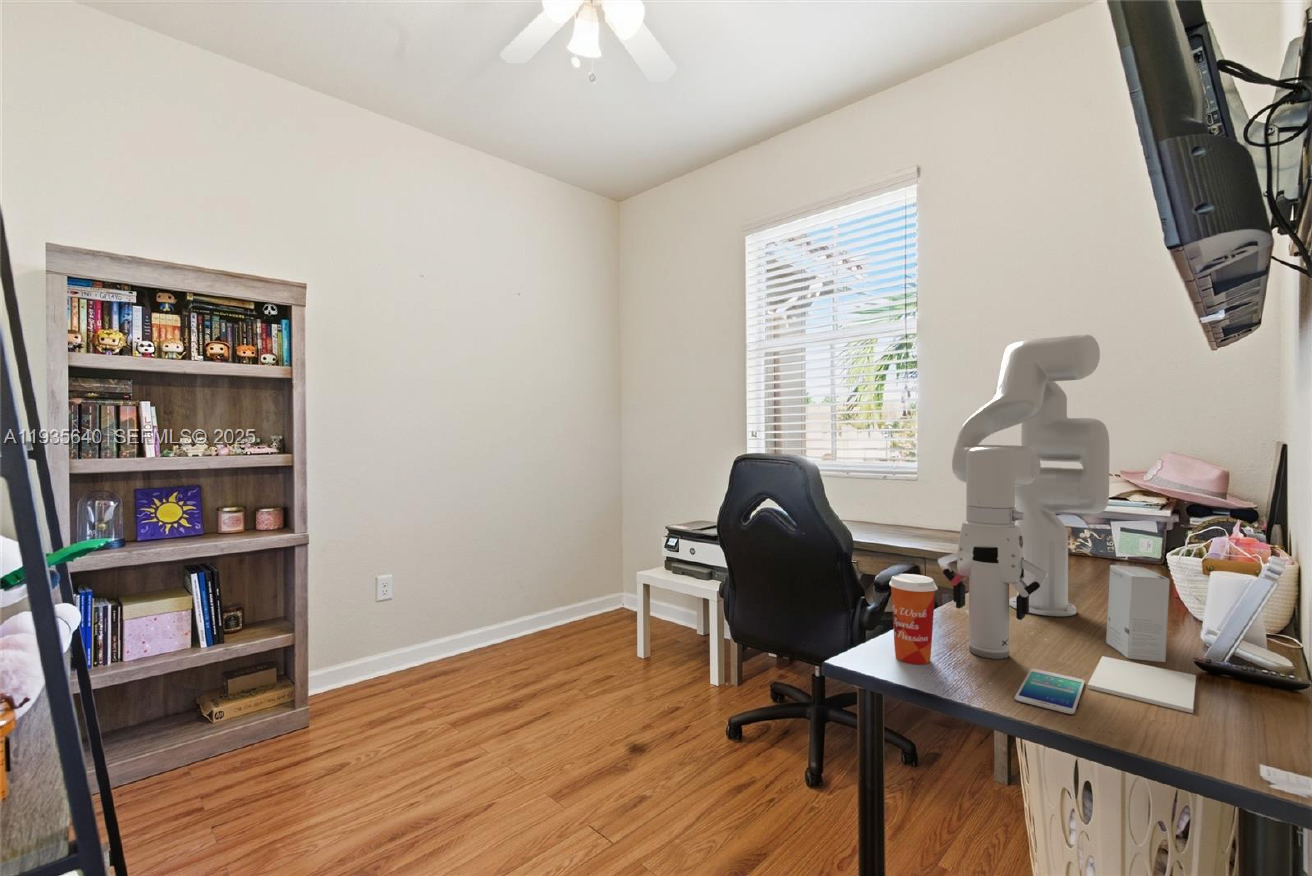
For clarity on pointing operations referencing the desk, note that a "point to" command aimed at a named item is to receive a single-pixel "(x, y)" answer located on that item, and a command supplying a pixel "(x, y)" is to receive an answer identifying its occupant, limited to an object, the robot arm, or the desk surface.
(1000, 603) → the travel mug
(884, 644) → the desk surface
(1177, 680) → the off-white mat
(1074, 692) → the smartphone
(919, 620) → the paper cup
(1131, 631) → the skincare box
